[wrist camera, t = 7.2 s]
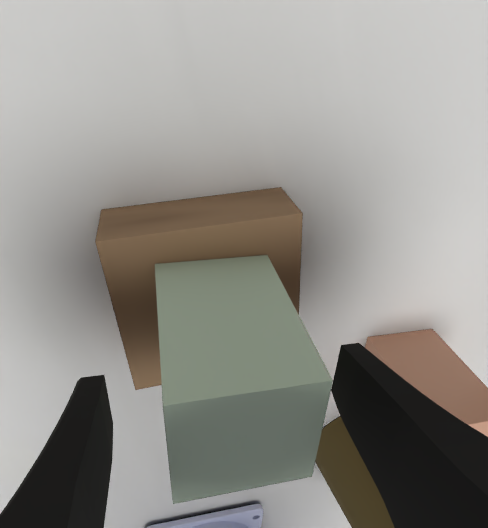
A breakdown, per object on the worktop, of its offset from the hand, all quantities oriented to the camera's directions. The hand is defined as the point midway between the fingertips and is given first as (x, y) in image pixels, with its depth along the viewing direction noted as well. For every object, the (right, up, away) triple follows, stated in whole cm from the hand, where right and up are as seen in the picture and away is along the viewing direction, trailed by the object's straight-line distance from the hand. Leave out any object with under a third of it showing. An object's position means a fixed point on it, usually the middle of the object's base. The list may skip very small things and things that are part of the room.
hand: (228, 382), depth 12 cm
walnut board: (-1, +3, +6) cm, 7 cm away
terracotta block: (+9, -2, +11) cm, 14 cm away
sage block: (-1, +2, +3) cm, 4 cm away
